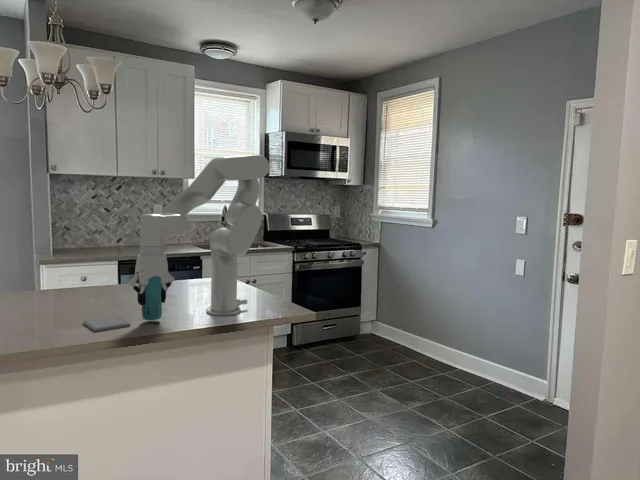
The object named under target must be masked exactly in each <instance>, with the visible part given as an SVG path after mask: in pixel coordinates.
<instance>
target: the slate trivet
mask: <svg viewBox="0 0 640 480" xmlns="http://www.w3.org/2000/svg"><path fill="white" fill-rule="evenodd" d="M82 324H83V325H85V326H86V327H87V328H89V329H90V330H91V331H93V332H94V333H98V332H103V331H109V330H111V331H112V330H117V329H121V328H127V327H131V323H130V322H128V321H126V320H124V319H123V318H121V317H120V316H118V315H117V316H112V317H110V316H109V317H105V318H104V317H103V318H97V319H91V320H85V321H84V320H83V322H82Z"/></svg>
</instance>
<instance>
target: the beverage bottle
mask: <svg viewBox="0 0 640 480" xmlns="http://www.w3.org/2000/svg"><path fill="white" fill-rule="evenodd" d="M143 294H145V305H144V306H142V305H141V316H142V317H141V318H142V319H143V320H144V321H157V320H160V319H161V318H162V317H163V315H162V314H163V308H162V307H163V302H162V297H161V277H158V276H153V277H151V278H149V279H148V285H146V287H145V289H144V291H143Z"/></svg>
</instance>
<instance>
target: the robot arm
mask: <svg viewBox="0 0 640 480" xmlns="http://www.w3.org/2000/svg"><path fill="white" fill-rule="evenodd" d="M269 170H270V163H269V161H268V159H267V158H266V157H265V156H263V155H260V154H248V155H246V154H245V155H237V156H236V155H235V156H234V155H233V156H232V155H231V156H229V155H227V156H216V157H214V158H213V159H211V160H210V161H208V163H207V164H206V166H205V167H204V168H203V169H202V170H201V172H199V174H198V176H197V177H196V178H195V179H194V180H193V181H192V183H190V185H189V186H188V187H186V188H185V189H183V191H182V192H180V193H179V194H178V195H176V196H175V197H174V198H173V199H172V200H170V202H169V203H168V204H167V205H166V206H165V208H164V209H163V210H162V212H161V213H144V214H142V215H141V216H140V234H139V235H140V249H139V251H140V252H139V253H140V254H137V256H136V262H135V266H134V267H135V268H134V269H135V270H134V276H133V277H132V278H131V279H130V280H129V281H128V282H127V284H128V285H129V287H131V289H133V290H134V291H135V292H136V293H137V304H138V305H140V306H141V307H142V306H144V305H145V294H143V291H144V289H145V287H146V285H148V279H149V278H151V277H153V276H158V277H161V297H162V304H163V303H164V304H165V303H166V299H167V291H168V289H169V288H170V286H172V284H173V282H174V281H175V279H176V278H175V277H174V276H172V274H171V273H170V272H169V265H168V259H167V254H165V252H166V251H167V252H168V250H169V248H168V246H165V236H171V237H172V236H173V237H180V236H185V235H186V234H187V233H188V232H189V231H190V227H191V223H190V220H189V218H187V215H188V214H189V213H190V212H191V211H193V210H194V209H196V208H199V207H201V206H203V205H205V204H207V203H209V202H210V201H211V200H212V199H213V197H214V196H215V195H216V193H217V192H218V191H219V190H220V188H221V187H222V186H223V185H224V184H225V182H226V181H229V182H230V181H237V183H238V184H237V188H236V191H235V193H234V196H233V198H232V200H231V202H230V204H229V206H228V208H227V210H226V211H225V217H224V218H225V221H226V223H227V224H228V225H230V226H231V227H232V228H231V227H230V228H229V227H220V228H216V229H215V230H214V231H213V232H212V233H211V234H210V238H209V248H210V249H209V250H210V255H211V276H210V278H211V281H210V283H211V285H210V306H208V307H206V313H207V314H208V315H212V316H221V317H222V316H234V315H237V314H239V313H241V307H240V306H242V305H248V299H247V298H245V299H241V298H237V297H238V296H237V295H238V270H239V269H238V266H239V264H238V257H242V256H244V255H245V254H247V252H248V251H249V250H250V248H251V246H252V244H253V242H254V239H255V238H256V235H257V233H258V232H259V230H260V227H261V224H262V223H263V222H262V221H263V214H262V210H261V209H260V207H259V206H258V205H256V203H257V202H258V199H259V196H260V195H261V194H260V193H261V186H260V182H259V179H263V178H264V177H265V176H266V175H268V173H269ZM136 284H138V285H136Z"/></svg>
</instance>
